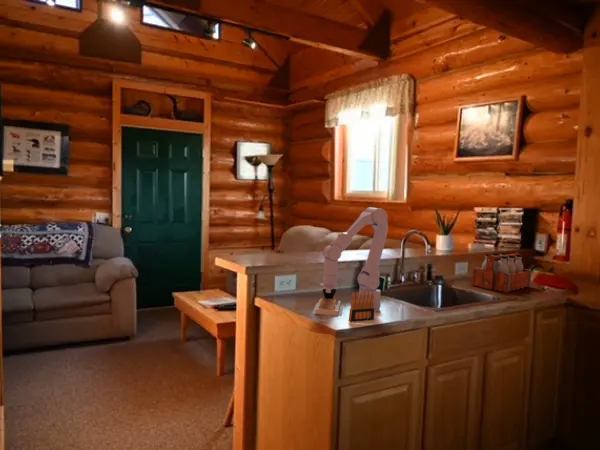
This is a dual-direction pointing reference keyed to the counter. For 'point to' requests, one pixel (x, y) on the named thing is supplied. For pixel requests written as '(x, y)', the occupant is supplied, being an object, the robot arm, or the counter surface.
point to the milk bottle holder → (502, 273)
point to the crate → (327, 303)
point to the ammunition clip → (362, 307)
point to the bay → (328, 310)
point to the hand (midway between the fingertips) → (328, 306)
